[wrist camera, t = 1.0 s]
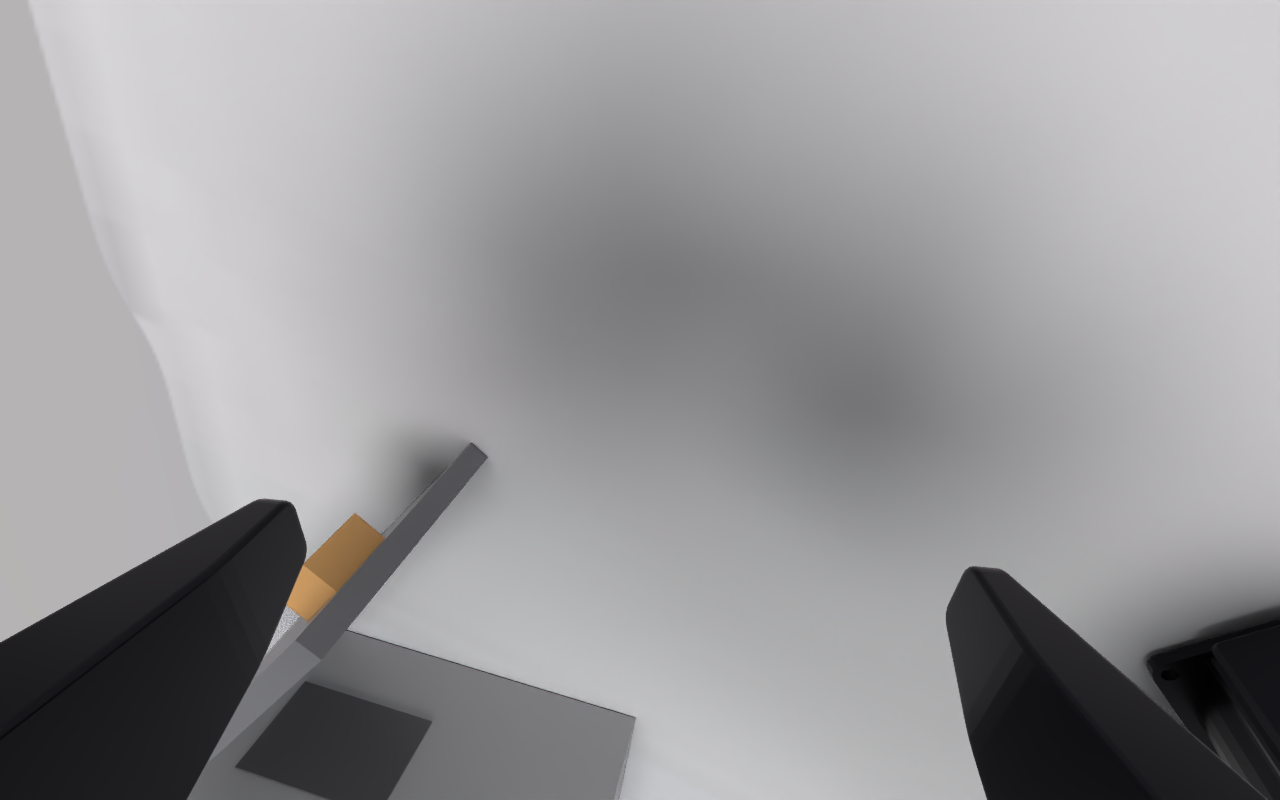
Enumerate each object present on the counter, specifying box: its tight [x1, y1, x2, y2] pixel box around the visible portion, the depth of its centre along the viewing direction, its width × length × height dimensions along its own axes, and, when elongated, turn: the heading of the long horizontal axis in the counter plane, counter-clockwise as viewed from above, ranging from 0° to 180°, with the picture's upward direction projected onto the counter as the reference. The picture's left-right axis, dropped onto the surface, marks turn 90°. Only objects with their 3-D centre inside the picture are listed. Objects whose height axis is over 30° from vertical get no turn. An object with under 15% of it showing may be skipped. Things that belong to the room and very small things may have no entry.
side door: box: [206, 443, 488, 765], centre depth 23 cm, size 14×2×10 cm, turn 137°
